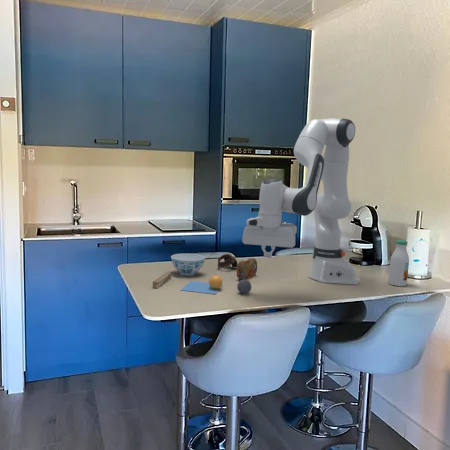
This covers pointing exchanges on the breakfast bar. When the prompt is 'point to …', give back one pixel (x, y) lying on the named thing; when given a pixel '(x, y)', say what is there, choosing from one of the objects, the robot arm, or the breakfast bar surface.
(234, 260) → the brown hollow arched shell
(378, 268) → the breakfast bar surface
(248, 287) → the grey ball
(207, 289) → the blue mark
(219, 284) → the orange ball
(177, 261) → the chinaware
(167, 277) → the wood strip
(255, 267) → the tin
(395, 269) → the milk bottle
